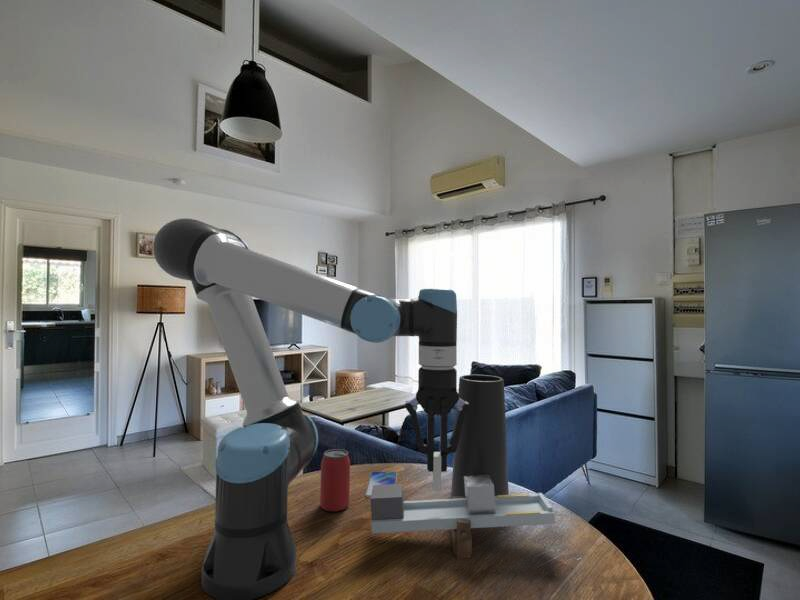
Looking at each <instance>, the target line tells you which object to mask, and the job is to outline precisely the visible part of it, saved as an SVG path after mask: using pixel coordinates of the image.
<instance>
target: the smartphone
mask: <svg viewBox="0 0 800 600" xmlns="http://www.w3.org/2000/svg"><path fill="white" fill-rule="evenodd" d="M397 476H398V473H397V472H396V471H371V472H370V475H369V479H368V483H367V486H366V490H365V493H364V497H365V498H367V499H370V498H371V493H372V489H373V485H386V484H397V478H398V477H397Z"/></svg>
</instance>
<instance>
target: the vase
mask: <svg viewBox="0 0 800 600" xmlns="http://www.w3.org/2000/svg"><path fill="white" fill-rule="evenodd" d="M457 392H458V394H459V398H460V399H462V400H463V401H467V402H468V403H469V405H470V409H469V411H468V412H467V414H466V415H465V418H464V422H463V426H462V430H461V434H460V438H459V442H458V446H457V450H456V452H455V453H453V459H452V460H453V461H452V462H453V463H452V477H451V490H450V495H451V496H450V497H451V498H450V499H452V496H462V497H464V498H465V484H464V476H478V475H489V476H490V478H491V481H492V483H493V485H494V495H495V496H497V495H510V494H509V492H510V491H509V490H510V488H509V468H508V464H509V463H508V447H507V446H508V443H507V425H506V424H507V422H506V401H505V400H506V398H505V380H504V378H503V377H500V376H496V375H488V374H487V375H486V374H466V375H465V374H464V375H461V376H459V379H458V390H457ZM457 412H458V409H457V408H456V413H457Z"/></svg>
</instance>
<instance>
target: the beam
mask: <svg viewBox="0 0 800 600" xmlns="http://www.w3.org/2000/svg"><path fill="white" fill-rule="evenodd" d="M404 498H405V497H404V485H403V483H396V484H386V485H373V489H372V493H371V498H369V499H370V513H371V514H370V515H371V522H370V524H371V534H385V533H388V534H389V533H402V532H403V533H404V532H405V533H406V532H422V531H423V532H424V531H440V530H441V531H445V530H450V529H457V520H470V522H471V529H478V528H479V529H480V528H481V529H482V528H501V527H504V528H505V527H519V526H523V527H524V526H536V525H537V526H538V525H539V526H540V525H555V524H556V521H555V520H556V519H555V512H554V509H553V506H552V504H550V502H549V501H548V499H547V498H546V497H545V495H544V494H543V493H542V492H537V493H535V494H529V493H518V494H517V493H516V494H515V493H514V494H509V495H497V496H495V509H496V514H483V515H468V512H467V508H466V499H465V498H457V499H452V498H443V499H442V498H441V499H425V500H424V499H423V500H421V499H419V500H404Z"/></svg>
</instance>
